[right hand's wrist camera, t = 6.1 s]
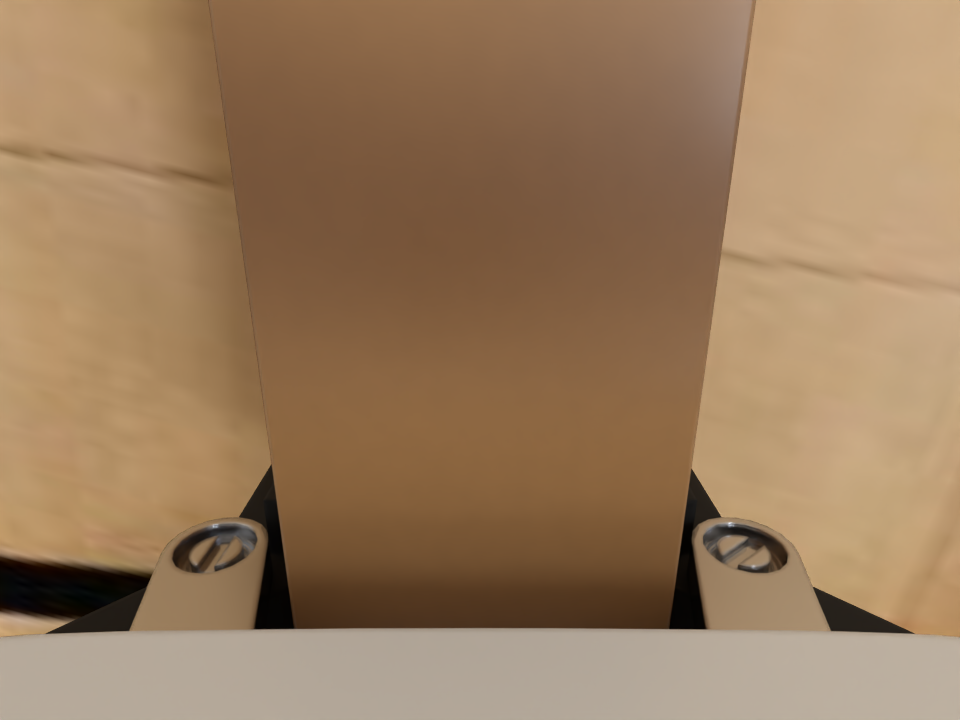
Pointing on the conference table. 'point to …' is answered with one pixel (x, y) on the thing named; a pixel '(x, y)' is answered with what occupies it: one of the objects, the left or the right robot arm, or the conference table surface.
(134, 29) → the conference table surface
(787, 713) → the right robot arm
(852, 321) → the conference table surface
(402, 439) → the bar
